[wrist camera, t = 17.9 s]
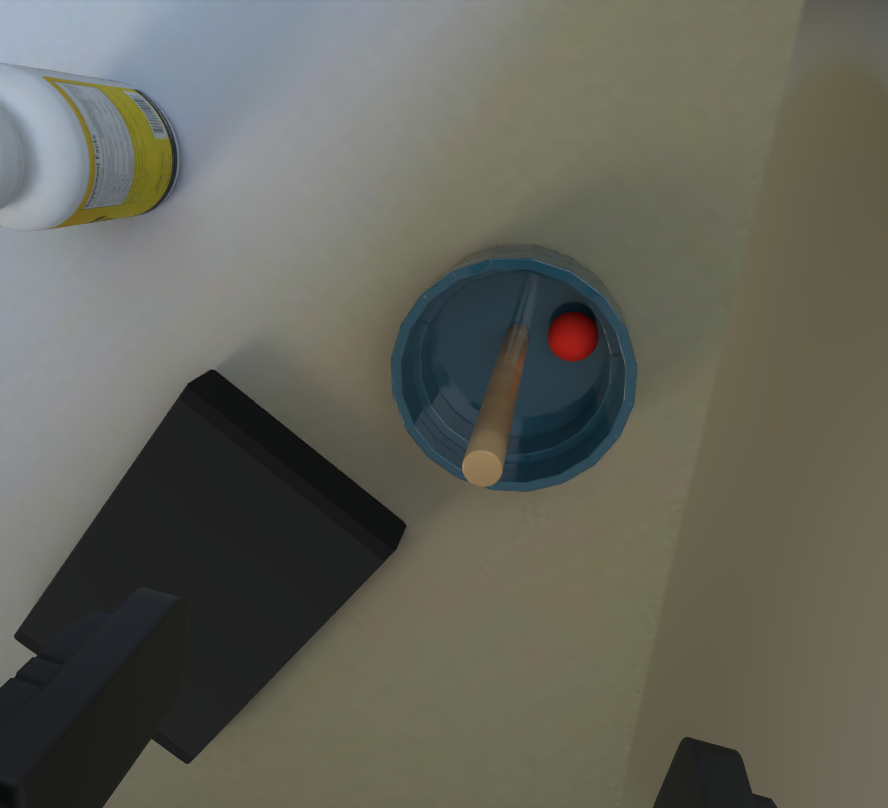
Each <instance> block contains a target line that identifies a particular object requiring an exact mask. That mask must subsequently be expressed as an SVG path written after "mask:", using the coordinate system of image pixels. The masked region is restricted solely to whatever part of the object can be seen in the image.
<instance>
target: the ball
mask: <svg viewBox="0 0 888 808" xmlns="http://www.w3.org/2000/svg"><path fill="white" fill-rule="evenodd" d="M548 343H549V346H550V348H551V350H552V351H553V353H554V354H555V355H556V356H557V357H559V358H561V359H563V360H565V361H570V362H575V361H580V360H583V359H585V358H587V357H588V356H589V355H590V354H592V352H593V351H594V350H595V348H596V346H597V343H598V329H597V326H596V324H595V323H594V321H593V320H592V319H591V318H590V317H589V316H587V315H586V314H583V313H581V312H567V313H564V314H561V315H560V316H558V317H557V318H556V319H555V320H554V321H553V322H552V324H551V326H550V328H549V331H548Z"/></svg>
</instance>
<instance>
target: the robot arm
mask: <svg viewBox="0 0 888 808" xmlns="http://www.w3.org/2000/svg"><path fill="white" fill-rule="evenodd" d="M188 625H189V603H188V600H187V599H185V598H181V597H178V596H174V595H170V594H167V593H163V592H159V591H156V590H152V589H148V588H145V587H141V588H139V589H137V590H136V591H135V592H133V593H132V594H131V595H130V596H129V597H128V598H127V599H126V600H125V601H124V602H123V603H122V605H121V606H120V607H119V608H118V609H117V610H116V611H115V612H114V613H113V614H110V613H106V612H102V611H99V610H97V611H95V612H93V613H91V614H89V615H88V616H86V617H84V618H82V619H80V620H78V621H76V622H74V623H72V624H70V625H68V626H66V627H64V628H63V629H62V630H61V631H60V632H59V633H58V634H57V635H56V636H55V637H53V638H52V639H51V640H50V641H49V642H48V643H47V644H46V645H45V646H44V647H43V648H42V649H41V650H40V651H39V652H38V655H37V656H36V657H32V658H31V659H30V660H29V661H28V662H27V663H26V664H25V665H24V666H23V667H22V668H21V669H20V670H19V671H18V672H17V674H16V676H15V677H14V678H10V679H9V680H8V681H7V682H6V683H5V684H4V685H3V686H2V687H1V688H0V808H103V806H104V805H105V803H106V802H107V800H108V799H109V798H110V796H111V795H112V793H113V792H114V791H115V789H116V788H117V786H118V785H119V784H120V782H121V781H122V779H123V778H124V776H125V775H126V774H127V772H128V771H129V769H130V768H131V767H132V765H133V764H134V762H135V761H136V759H137V758H138V757H139V755H140V754H141V752H142V751H143V750H144V748H145V747H146V745H147V744H148V742H149V741H150V740H151V738H152V737H153V735H154V734H155V733H156V731H157V730H158V728H159V727H160V725H161V724H162V723H163V721H164V720H165V718H166V717H167V716H168V714H169V713H170V711H171V710H172V708H173V706H174V704H175V702H176V700H177V698H178V696H179V694H180V691H181V688H182V685H183V682H184V678H185V672H186V659H187V642H188ZM653 808H777V806H776V805H775V804H774V802H773V801H772V799H770V798H767V797H763V796H759V795H756V794H752V791H751V788H750V784H749V780H748V777H747V773H746V770H745V767H744V763H743V760H742V757H741V755H740V754H739V753H738V752H737V751H736V750H733V749H729V748H726V747H722V746H719V745H715V744H711V743H708V742H704V741H700V740H696V739H693V738H689V737H685V738H684V739H683V740H682V741H681V742H680V745H679V746H678V749H677V751H676V753H675V756H674V758H673V761H672V763H671V766H670V768H669V770H668V772H667V775H666V777H665V780H664V782H663V784H662V787H661V789H660V791H659V794H658V796H657V799H656V801H655V803H654V806H653Z"/></svg>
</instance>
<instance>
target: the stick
mask: <svg viewBox="0 0 888 808" xmlns="http://www.w3.org/2000/svg"><path fill="white" fill-rule="evenodd" d="M529 338H530V332H529V330H528V328H527V327H526V326H525V325H523V324H519V323H516V324H513V325H511V326H510V327H509V328H508V329H507V331H506V334H505V337H504V340H503V343H502V346H501V349H500V352H499V355H498V358H497V361H496V364H495V367H494V370H493V373H492V376H491V379H490V382H489V385H488V388H487V391H486V394H485V397H484V400H483V403H482V406H481V409H480V411H479V414H478V417H477V420H476V423H475V426H474V429H473V432H472V435H471V438H470V441H469V444H468V447H467V450H466V453H465V456H464V459H463V462H462V472H463V474H464V476H465V478H466V479H467V480H468V481H469V482H470V483H472V484H473V485H476V486H479V487H487V486H491V485H493V484H495V483H496V482H497V481H498V480H499V479H500V478H501V475H502V472H503V467H504V462H505V457H506V452H507V447H508V442H509V437H510V432H511V427H512V422H513V418H514V413H515V408H516V403H517V398H518V393H519V388H520V383H521V378H522V373H523V368H524V363H525V358H526V353H527V348H528V343H529Z"/></svg>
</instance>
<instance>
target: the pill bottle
mask: <svg viewBox="0 0 888 808" xmlns="http://www.w3.org/2000/svg"><path fill="white" fill-rule="evenodd" d="M179 164H180V155H179V147H178V142H177V139H176V135H175V132H174V130H173V128H172V125H171V123H170V122H169V120H168V118H167V116H166V115H165V114H164V112H163V111H162V109H161V108H160V107H159V106H158V105H157V104H156V102H155V101H153V100H152V99H151V98H150V97H149V96H148V95H146V94H145V93H143V92H142V91H140V90H139V89H137V88H135V87H133V86H130V85H128V84H125V83H122V82H118V81H112V80H106V79H99V78H92V77H86V76H81V75H75V74H69V73H63V72H57V71H51V70H44V69H38V68H31V67H25V66H19V65H12V64H5V63H0V226H1V227H4V228H7V229H12V230H17V231H40V230H47V229H54V228H60V227H66V226H73V225H79V224H86V223H92V222H99V221H106V220H112V219H118V218H125V217H131V216H137V215H141V214H144V213H147V212H149V211H151V210H153V209H155V208H157V207H158V206H159V205H161V204H162V203H163V202H164V201H165V200H166V199H167V197H168V196H169V195H170V193H171V191H172V190H173V188H174V186H175V183H176V180H177V177H178V173H179Z"/></svg>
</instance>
